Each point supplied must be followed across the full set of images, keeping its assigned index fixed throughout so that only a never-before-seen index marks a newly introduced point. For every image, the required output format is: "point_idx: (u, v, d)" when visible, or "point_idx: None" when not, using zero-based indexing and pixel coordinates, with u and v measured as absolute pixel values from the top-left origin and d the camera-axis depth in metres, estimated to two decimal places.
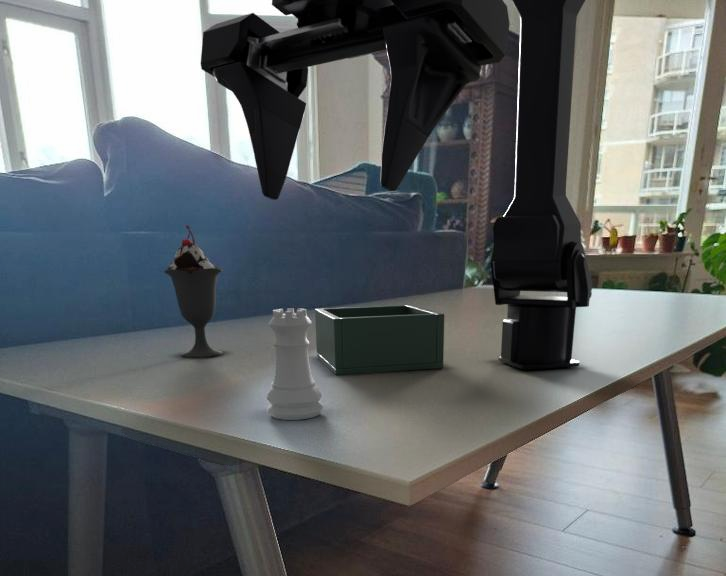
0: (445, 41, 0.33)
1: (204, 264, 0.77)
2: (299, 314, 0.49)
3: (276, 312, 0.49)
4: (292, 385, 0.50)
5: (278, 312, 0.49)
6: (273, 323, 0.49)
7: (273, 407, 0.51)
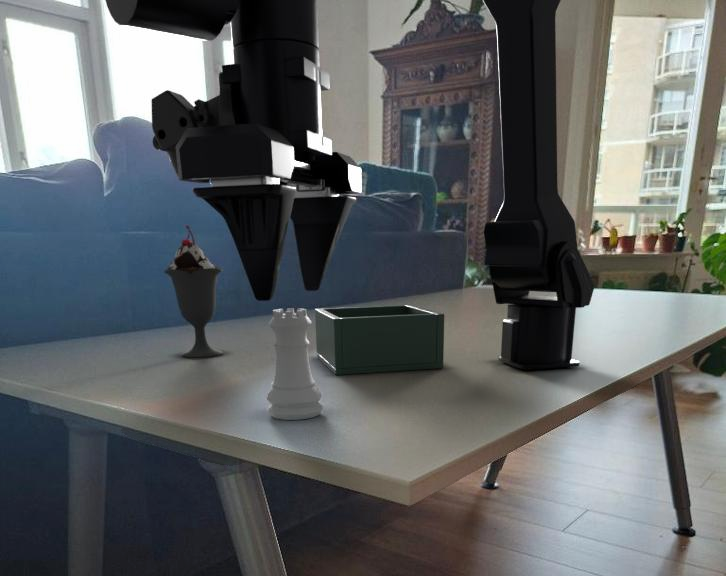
0: (211, 195, 0.41)
1: (204, 264, 0.77)
2: (299, 314, 0.49)
3: (276, 312, 0.49)
4: (292, 385, 0.50)
5: (278, 312, 0.49)
6: (273, 323, 0.49)
7: (273, 407, 0.51)
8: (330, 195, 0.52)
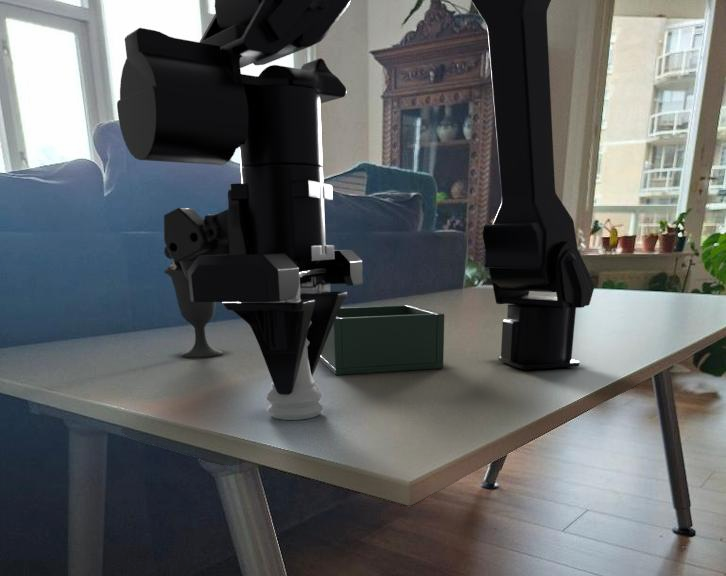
0: (240, 310, 0.45)
1: None
2: None
3: None
4: None
5: None
6: None
7: (273, 407, 0.51)
8: (321, 292, 0.52)
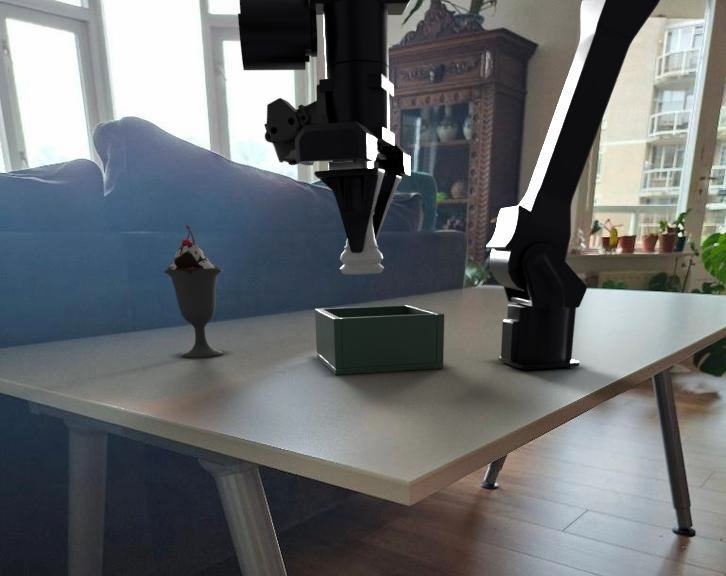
0: (328, 176, 0.59)
1: (204, 264, 0.77)
2: None
3: None
4: None
5: None
6: None
7: (346, 265, 0.65)
8: None
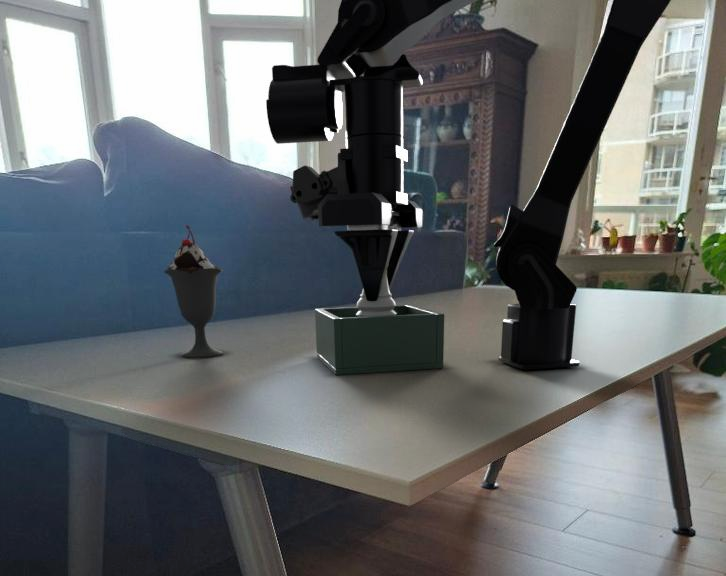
0: (347, 236, 0.65)
1: (204, 264, 0.77)
2: None
3: None
4: None
5: None
6: None
7: (362, 312, 0.71)
8: (396, 229, 0.72)
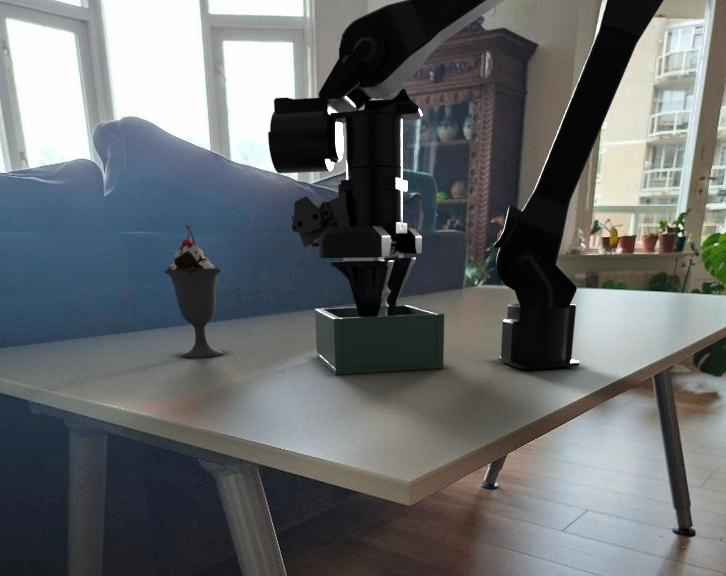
0: (343, 266, 0.65)
1: (204, 264, 0.77)
2: None
3: None
4: None
5: None
6: None
7: None
8: (399, 257, 0.74)
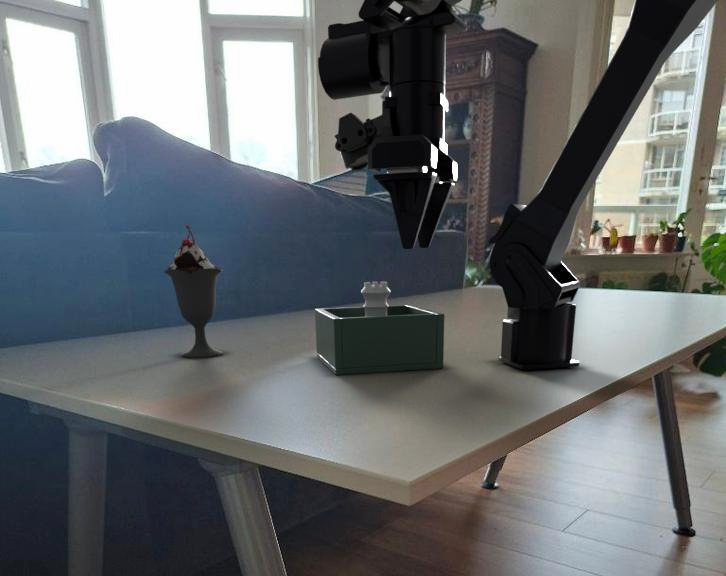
0: (386, 179, 0.65)
1: (204, 264, 0.77)
2: (383, 285, 0.71)
3: (367, 283, 0.71)
4: None
5: (369, 283, 0.71)
6: (365, 291, 0.71)
7: None
8: (439, 182, 0.76)
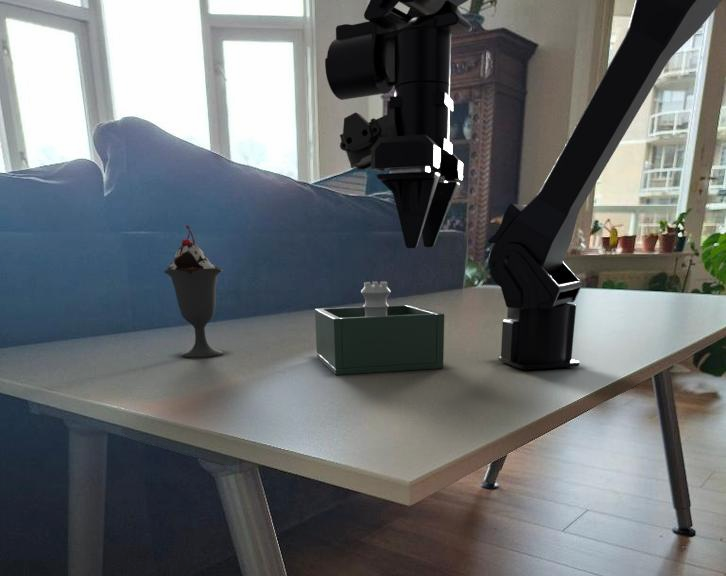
0: (389, 178, 0.65)
1: (204, 264, 0.77)
2: (383, 285, 0.71)
3: (367, 283, 0.71)
4: None
5: (369, 283, 0.71)
6: (365, 291, 0.71)
7: None
8: (444, 181, 0.77)
